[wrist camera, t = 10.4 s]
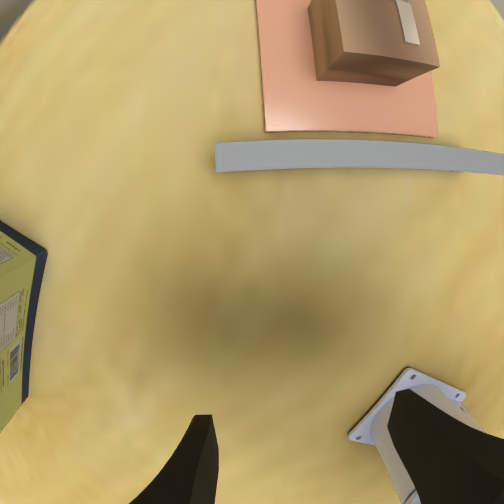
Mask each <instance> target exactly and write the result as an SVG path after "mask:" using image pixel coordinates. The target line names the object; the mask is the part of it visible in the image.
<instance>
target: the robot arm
mask: <svg viewBox="0 0 504 504" xmlns="http://www.w3.org/2000/svg"><path fill="white" fill-rule="evenodd" d="M412 375H413V376H412ZM465 397H466V393H465V392H464V391H462V390H460V389H457V388H455V387H453V386H451V385H448V384H446V383H444V382H441V381H439V380H437V379H435V378H433V377H430V376H428V375H426V374H424V373H421V372H419V371H417V370H415V369H413V368H407V369H405V370H404V371H403V372H402V374H401V375H400V376H399V377H398V379H397V380H396V381H395V382H394V384H393V385H392V386H391V387H390V388H389V390H388V391H387V392H386V393H385V394H384V396H383V397H382V398H381V399H380V400H379V401H378V402H377V404H376V405H375V406H374V407H373V408H372V409H371V410H370V411H369V413H368V414H367V415H366V416H365V417H364V418H363V419H362V420H361V421H360V422H359V423H358V424H357V426H356V427H355V428H354V429H353V430H352V431H351V432H350V433H349V434H348V437H349V439H350V440H352V441H356V442H360V443H365V444H369V445H374V446H376V448H377V451H378V453H379V455H380V457H381V459H382V462H383V464H384V466H385V468H386V470H387V473H388V475H389V477H390V479H391V482H392V484H393V486H394V488H395V491H396V493H397V495H398V497H399V500H400V502H401V504H504V439H501V438H498V437H495V436H492V435H489V434H486V433H485V432H484V431H483V430H482V428H481V427H480V426H479V425H478V423H477V422H476V421H475V420H474V419H473V417H472V416H471V415H470V414H469V412H468V411H467V410H466V409H465V408H464V406H463V405H462V404H461V402H462V401H463V400H464V399H465ZM218 471H219V453H218V444H217V439H216V434H215V429H214V424H213V418H212V415H195V416H194V417H193V419H192V421H191V423H190V425H189V427H188V429H187V431H186V433H185V435H184V437H183V438H182V440H181V442H180V443H179V445H178V447H177V448H176V450H175V451H174V453H173V455H172V456H171V457H170V459H169V460H168V462H167V463H166V464H165V466H164V467H163V468H162V470H161V471H160V472H159V474H158V475H157V476H156V477H155V478H154V480H153V481H152V482H151V483H150V484H149V485H148V486H147V487H146V488H145V489H144V490H143V491H142V492H141V493H140V494H139V495H138V496H137V497H136V498H135V499H134V500H133V501H131V502H130V503H129V504H214V503H215V495H216V487H217V479H218Z"/></svg>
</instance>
